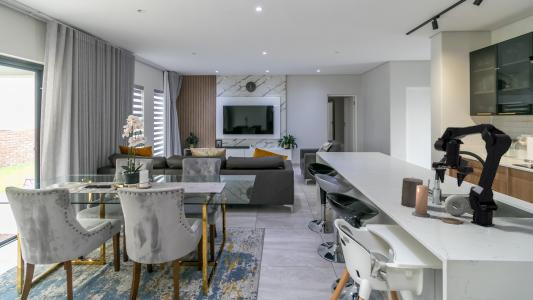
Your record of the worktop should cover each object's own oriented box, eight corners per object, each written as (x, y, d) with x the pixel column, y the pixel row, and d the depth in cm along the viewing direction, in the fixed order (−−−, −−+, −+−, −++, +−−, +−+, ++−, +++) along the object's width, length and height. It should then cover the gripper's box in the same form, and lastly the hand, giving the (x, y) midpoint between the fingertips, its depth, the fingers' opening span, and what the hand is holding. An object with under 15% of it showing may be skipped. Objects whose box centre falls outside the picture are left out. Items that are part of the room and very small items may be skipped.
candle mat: (433, 216, 151) (433, 215, 151) (420, 217, 148) (421, 216, 148) (420, 211, 158) (420, 210, 158) (408, 213, 155) (408, 212, 155)
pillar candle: (397, 204, 171) (399, 176, 169) (406, 201, 177) (408, 174, 175) (415, 209, 163) (417, 179, 162) (424, 205, 170) (426, 177, 168)
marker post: (428, 215, 150) (430, 187, 149) (417, 215, 150) (419, 187, 149) (423, 212, 155) (425, 185, 154) (413, 211, 155) (414, 185, 154)
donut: (443, 215, 153) (445, 194, 152) (443, 213, 156) (444, 192, 155) (468, 217, 149) (470, 196, 148) (467, 215, 152) (468, 194, 151)
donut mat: (465, 223, 141) (465, 221, 141) (452, 224, 139) (452, 223, 139) (449, 218, 148) (450, 216, 148) (437, 219, 146) (437, 218, 146)
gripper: (483, 154, 152) (480, 187, 153) (448, 150, 169) (446, 180, 171) (466, 155, 148) (463, 189, 150) (432, 151, 165) (430, 181, 167)
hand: (450, 184), depth 159 cm, fingers open, 9 cm apart
